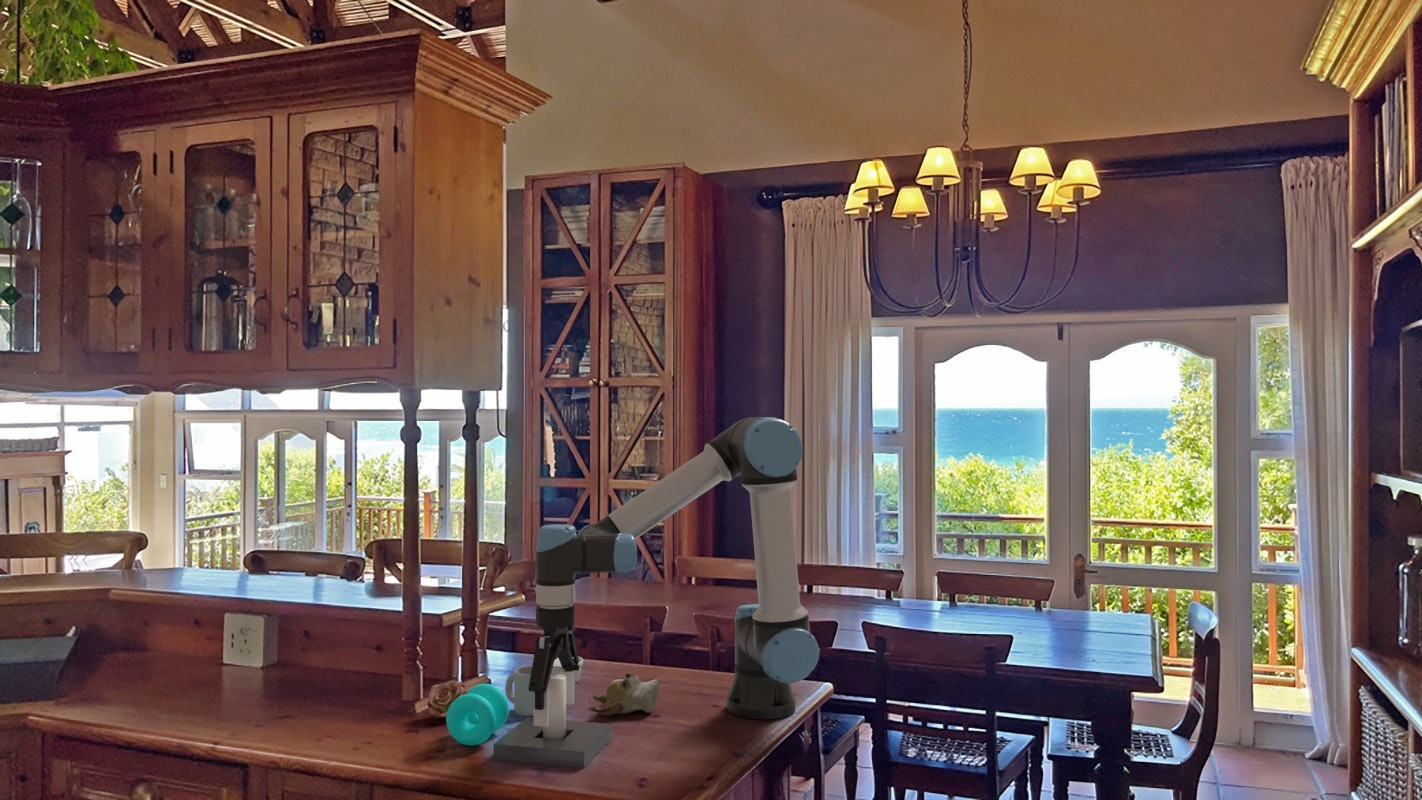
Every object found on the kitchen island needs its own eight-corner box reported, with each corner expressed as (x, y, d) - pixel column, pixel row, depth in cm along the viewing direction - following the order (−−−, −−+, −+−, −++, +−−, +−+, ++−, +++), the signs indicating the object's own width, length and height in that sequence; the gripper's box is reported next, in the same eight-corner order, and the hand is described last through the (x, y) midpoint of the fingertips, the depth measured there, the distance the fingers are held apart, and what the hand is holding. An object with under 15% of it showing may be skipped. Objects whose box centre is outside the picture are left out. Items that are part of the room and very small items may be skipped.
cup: (537, 718, 206) (537, 676, 206) (496, 712, 210) (497, 671, 210) (553, 708, 213) (554, 667, 213) (514, 703, 216) (514, 663, 217)
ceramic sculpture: (660, 677, 206) (590, 683, 205) (662, 718, 206) (592, 724, 205) (658, 665, 217) (591, 670, 216) (661, 703, 217) (593, 709, 215)
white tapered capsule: (569, 746, 189) (569, 674, 189) (560, 754, 185) (561, 680, 185) (547, 744, 190) (548, 673, 190) (539, 752, 186) (539, 679, 186)
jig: (611, 739, 194) (611, 724, 194) (584, 768, 178) (584, 751, 178) (527, 732, 197) (527, 717, 197) (493, 759, 182) (493, 743, 182)
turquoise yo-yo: (443, 745, 189) (444, 694, 189) (464, 729, 199) (465, 680, 199) (491, 749, 188) (492, 697, 188) (511, 732, 197) (511, 683, 197)
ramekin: (585, 686, 230) (585, 664, 230) (537, 689, 227) (537, 667, 227) (580, 674, 241) (580, 652, 241) (535, 676, 238) (535, 655, 238)
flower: (434, 702, 212) (424, 680, 207) (473, 693, 212) (464, 671, 208) (432, 736, 204) (422, 714, 200) (472, 727, 205) (463, 705, 201)
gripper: (560, 592, 201) (559, 694, 201) (510, 617, 176) (509, 734, 176) (595, 593, 199) (594, 696, 199) (549, 619, 175) (548, 737, 175)
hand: (554, 714), depth 188 cm, fingers open, 13 cm apart
